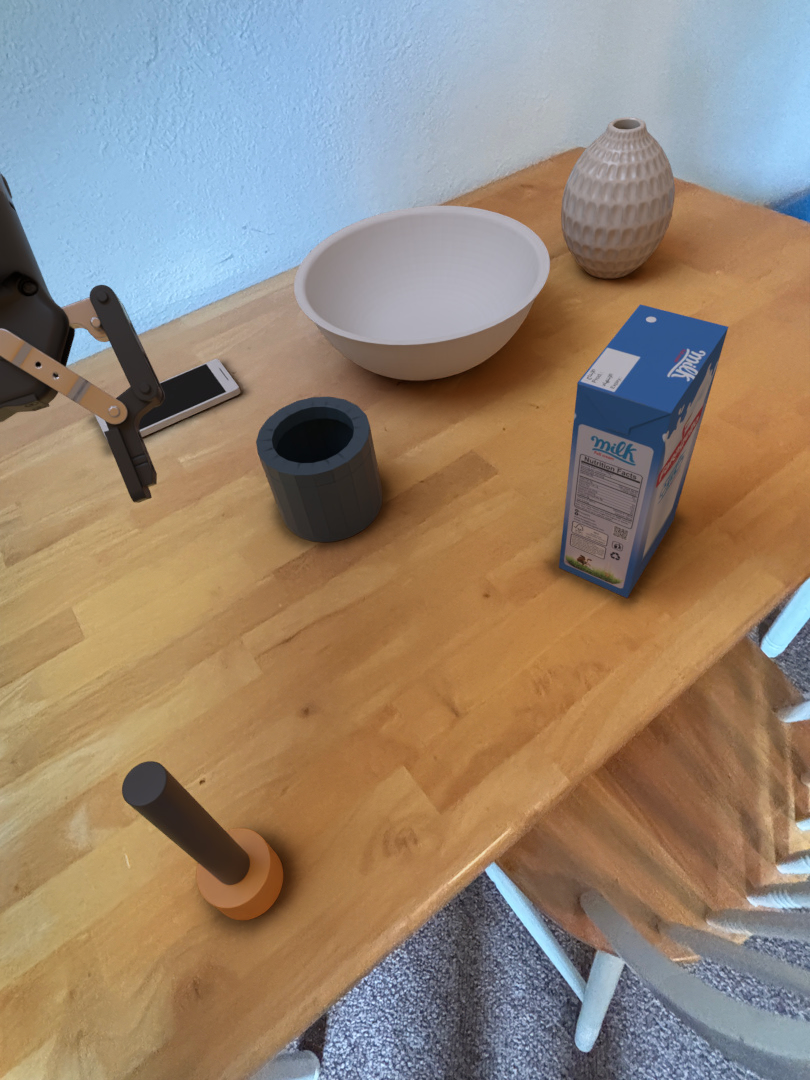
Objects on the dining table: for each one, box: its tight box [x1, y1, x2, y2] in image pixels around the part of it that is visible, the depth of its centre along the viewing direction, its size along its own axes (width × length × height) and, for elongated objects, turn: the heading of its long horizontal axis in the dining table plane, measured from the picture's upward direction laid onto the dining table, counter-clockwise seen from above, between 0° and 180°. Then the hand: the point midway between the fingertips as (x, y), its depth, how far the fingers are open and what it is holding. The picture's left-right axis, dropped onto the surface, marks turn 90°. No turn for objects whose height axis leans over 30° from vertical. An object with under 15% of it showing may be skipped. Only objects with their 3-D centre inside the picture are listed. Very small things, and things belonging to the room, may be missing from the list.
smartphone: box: [93, 358, 241, 440], centre depth 81 cm, size 7×16×1 cm, turn 121°
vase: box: [560, 116, 676, 280], centre depth 83 cm, size 13×13×17 cm
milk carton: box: [558, 304, 729, 599], centre depth 54 cm, size 10×6×20 cm, turn 145°
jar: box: [255, 396, 384, 543], centre depth 65 cm, size 10×10×9 cm
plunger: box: [121, 760, 284, 921], centre depth 41 cm, size 5×5×18 cm
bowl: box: [293, 205, 551, 381], centre depth 79 cm, size 27×27×10 cm
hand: (60, 528), depth 36 cm, fingers open, 8 cm apart
